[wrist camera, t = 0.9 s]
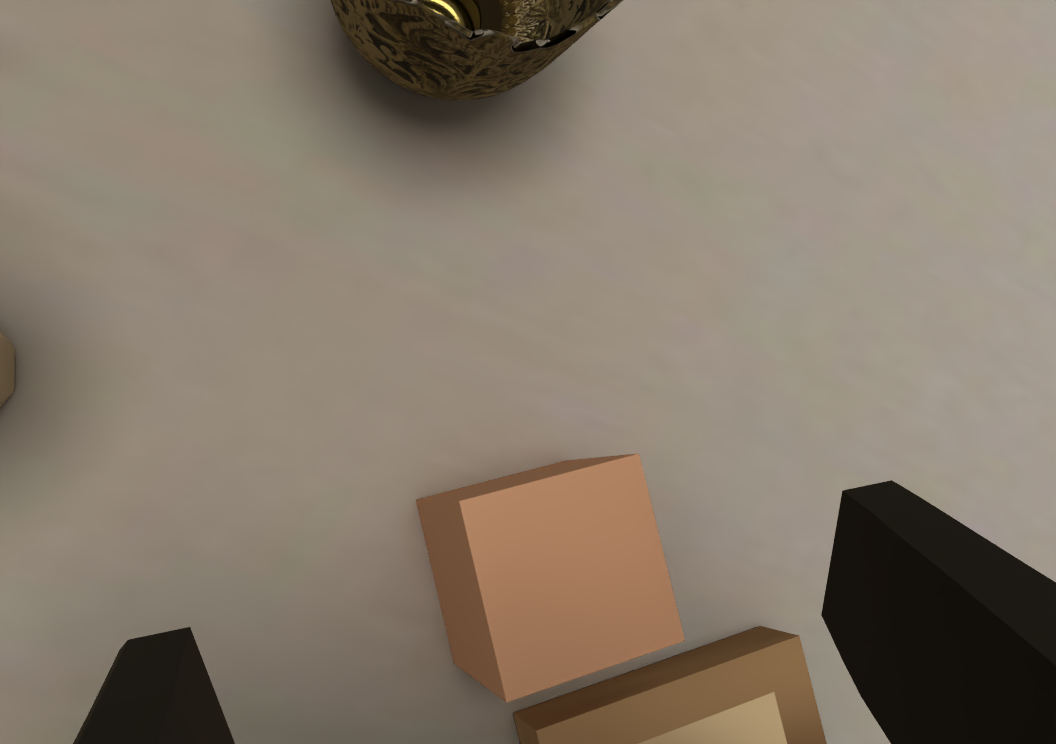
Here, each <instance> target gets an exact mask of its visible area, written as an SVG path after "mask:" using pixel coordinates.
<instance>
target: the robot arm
mask: <svg viewBox="0 0 1056 744" xmlns="http://www.w3.org/2000/svg"><path fill="white" fill-rule="evenodd" d="M822 617H823V619H824V621H825V624H826V626H827V628H828V630H829V632H830V634H831V636H832V638H833V641H834V643H835V645H836V647H837V649H838V651H839V653H840V655H841V658H842V660H843V662H844V664H845V666H846V668H847V670H848V672H849V674H850V676H851V677H852V679H853V681H854V683H855V685H856V687H857V689H858V691H859V693H860V695H861V697H862V699H863V700H864V702H865V703H866V705H867V707H868V708H869V710H870V711H871V713H872V715H873V716H874V718H875V719H876V721H877V722H878V724H879V725H880V727H881V729H882V730H883V732H884V733H885V735H886V736H887V738H888V740H889V741H890V743H891V744H1056V582H1054V581H1053V580H1051V579H1049V578H1048V577H1046V576H1044V575H1043V574H1041V573H1039V572H1038V571H1036V570H1035V569H1033V568H1031V567H1030V566H1028V565H1027V564H1025V563H1023V562H1022V561H1020V560H1019V559H1017V558H1015V557H1014V556H1012V555H1011V554H1009V553H1007V552H1006V551H1004V550H1003V549H1001V548H1000V547H998V546H996V545H995V544H993V543H992V542H990V541H988V540H987V539H985V538H984V537H982V536H980V535H979V534H977V533H976V532H974V531H973V530H971V529H969V528H968V527H966V526H965V525H963V524H962V523H960V522H958V521H957V520H955V519H954V518H952V517H951V516H949V515H947V514H946V513H944V512H943V511H941V510H939V509H938V508H936V507H935V506H933V505H931V504H930V503H928V502H927V501H925V500H923V499H922V498H920V497H919V496H917V495H915V494H914V493H912V492H910V491H909V490H907V489H905V488H904V487H902V486H900V485H899V484H897V483H895V482H893V481H892V480H891V481H887V482H882V483H877V484H872V485H867V486H863V487H858V488H853V489H848V490H844V491H842V497H841V503H840V509H839V515H838V520H837V526H836V532H835V538H834V544H833V550H832V556H831V562H830V568H829V573H828V579H827V585H826V591H825V597H824V603H823V609H822ZM73 744H235V743H234V740H233V738H232V735H231V732H230V730H229V727H228V725H227V722H226V719H225V717H224V714H223V712H222V709H221V706H220V704H219V701H218V699H217V696H216V693H215V691H214V688H213V686H212V683H211V680H210V678H209V675H208V673H207V670H206V667H205V665H204V662H203V660H202V657H201V654H200V652H199V649H198V647H197V644H196V641H195V639H194V636H193V634H192V631H191V628H190V627H188V628H183V629H178V630H173V631H168V632H164V633H159V634H154V635H149V636H144V637H140V638H135V639H130V640H128V641H127V642H126V643H125V644H124V645H123V647H122V648H121V649H120V650H119V652H118V654H117V657H116V659H115V661H114V663H113V665H112V667H111V669H110V671H109V673H108V675H107V677H106V679H105V681H104V683H103V685H102V687H101V689H100V691H99V694H98V696H97V698H96V700H95V702H94V704H93V706H92V708H91V710H90V712H89V714H88V716H87V718H86V720H85V722H84V724H83V725H82V727H81V729H80V731H79V733H78V735H77V737H76V739H75V741H74V743H73Z"/></svg>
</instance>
